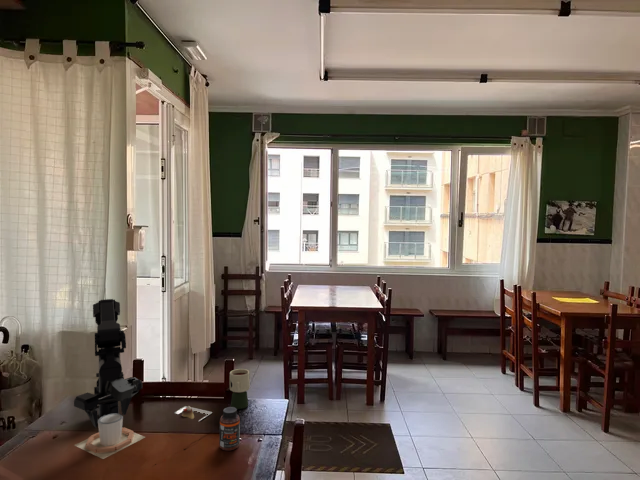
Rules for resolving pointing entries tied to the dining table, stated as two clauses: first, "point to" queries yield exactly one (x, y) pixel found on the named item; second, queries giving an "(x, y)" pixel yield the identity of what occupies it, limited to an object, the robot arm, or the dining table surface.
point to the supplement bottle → (229, 429)
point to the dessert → (191, 412)
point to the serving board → (106, 454)
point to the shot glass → (110, 429)
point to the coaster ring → (109, 448)
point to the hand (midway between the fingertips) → (110, 420)
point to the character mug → (239, 388)
